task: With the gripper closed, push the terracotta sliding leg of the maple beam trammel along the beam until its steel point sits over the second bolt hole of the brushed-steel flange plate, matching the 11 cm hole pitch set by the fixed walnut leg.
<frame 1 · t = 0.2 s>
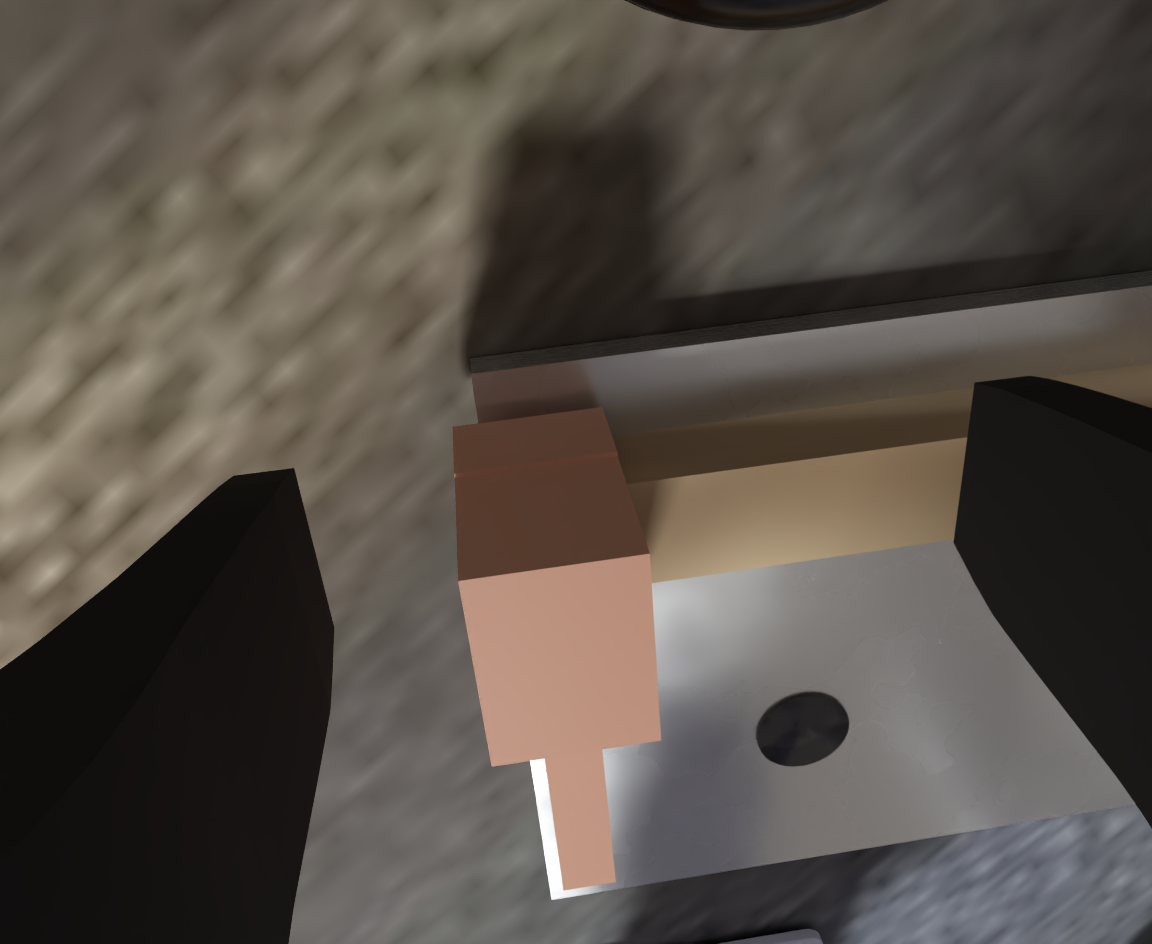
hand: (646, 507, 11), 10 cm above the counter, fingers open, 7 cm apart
flange plate: (912, 600, 25), on the counter
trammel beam: (930, 423, 22), resting on flange plate
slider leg: (566, 702, 20), point 4 cm above the counter, slide at 0.0 cm
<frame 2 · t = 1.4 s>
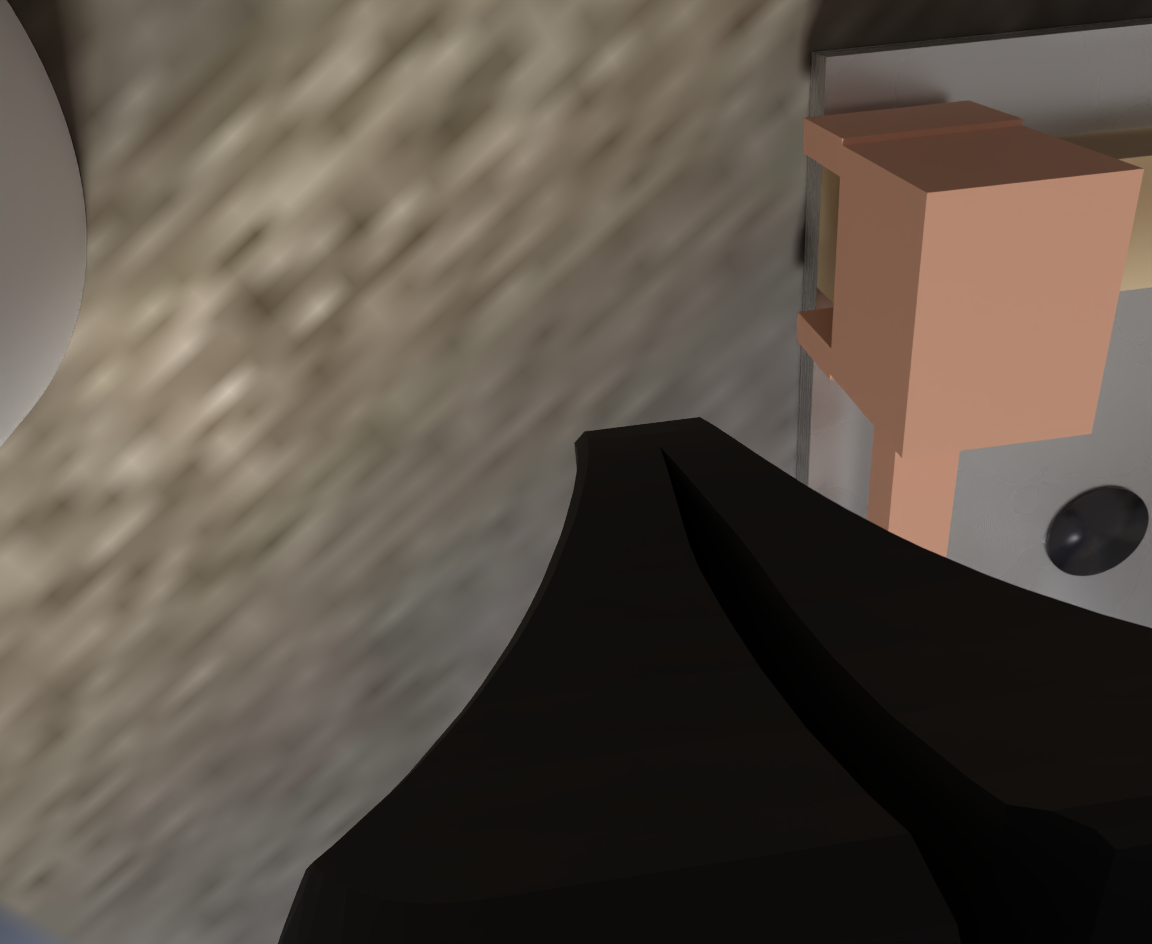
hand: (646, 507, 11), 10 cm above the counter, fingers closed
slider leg: (920, 437, 18), point 4 cm above the counter, slide at 0.0 cm
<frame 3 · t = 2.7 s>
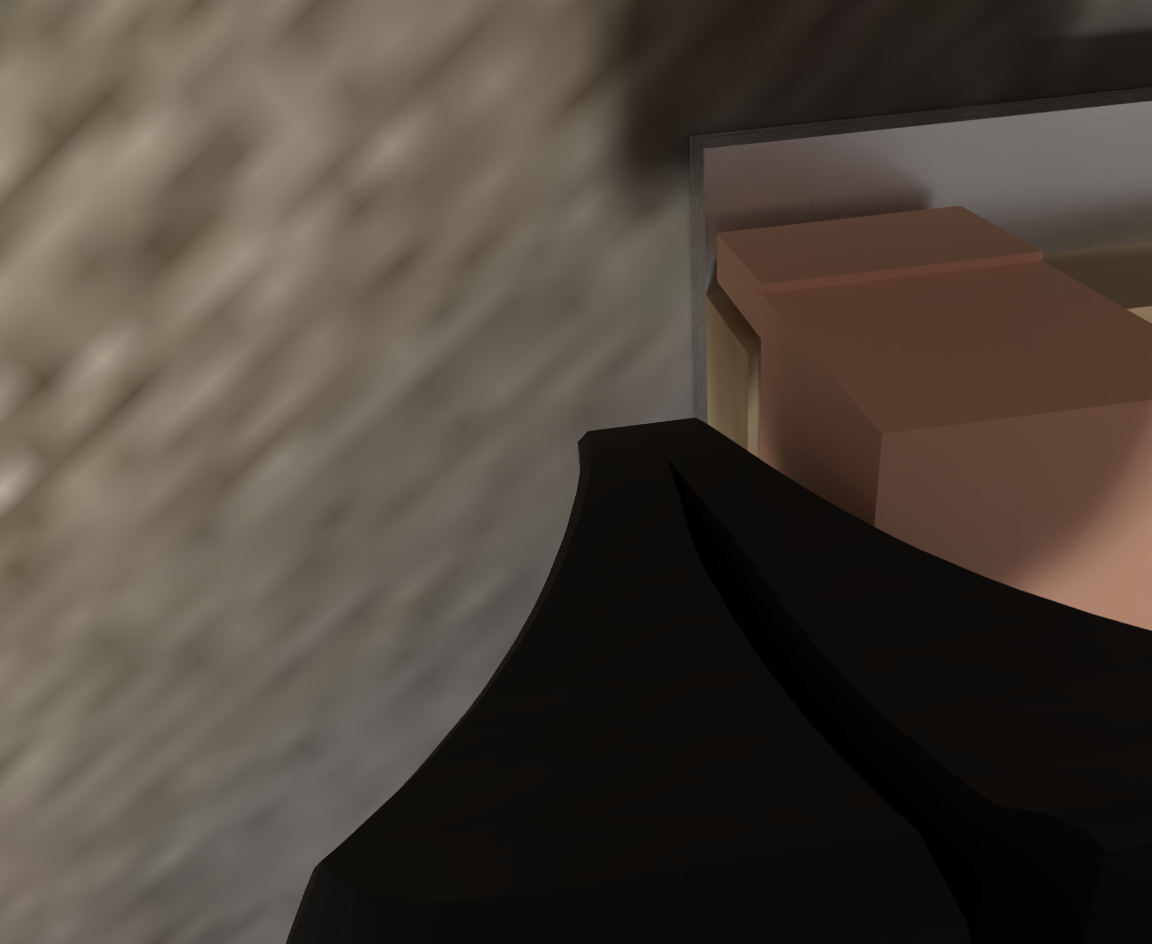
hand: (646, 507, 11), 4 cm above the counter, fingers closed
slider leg: (888, 694, 12), point 4 cm above the counter, slide at 0.6 cm, touching gripper
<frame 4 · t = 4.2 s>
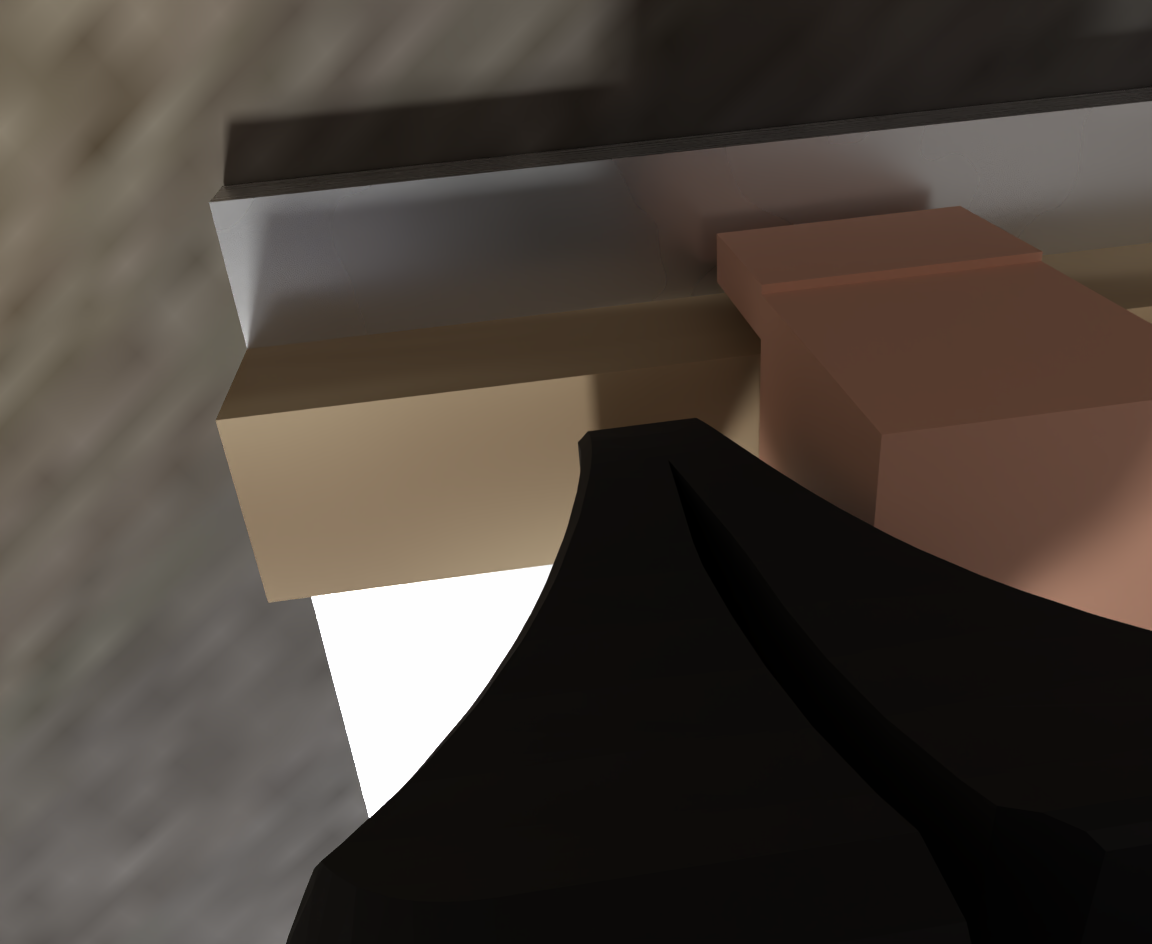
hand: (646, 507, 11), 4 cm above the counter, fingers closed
flange plate: (949, 603, 17), on the counter
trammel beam: (986, 322, 14), resting on flange plate
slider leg: (889, 694, 12), point 4 cm above the counter, slide at 6.3 cm, touching gripper
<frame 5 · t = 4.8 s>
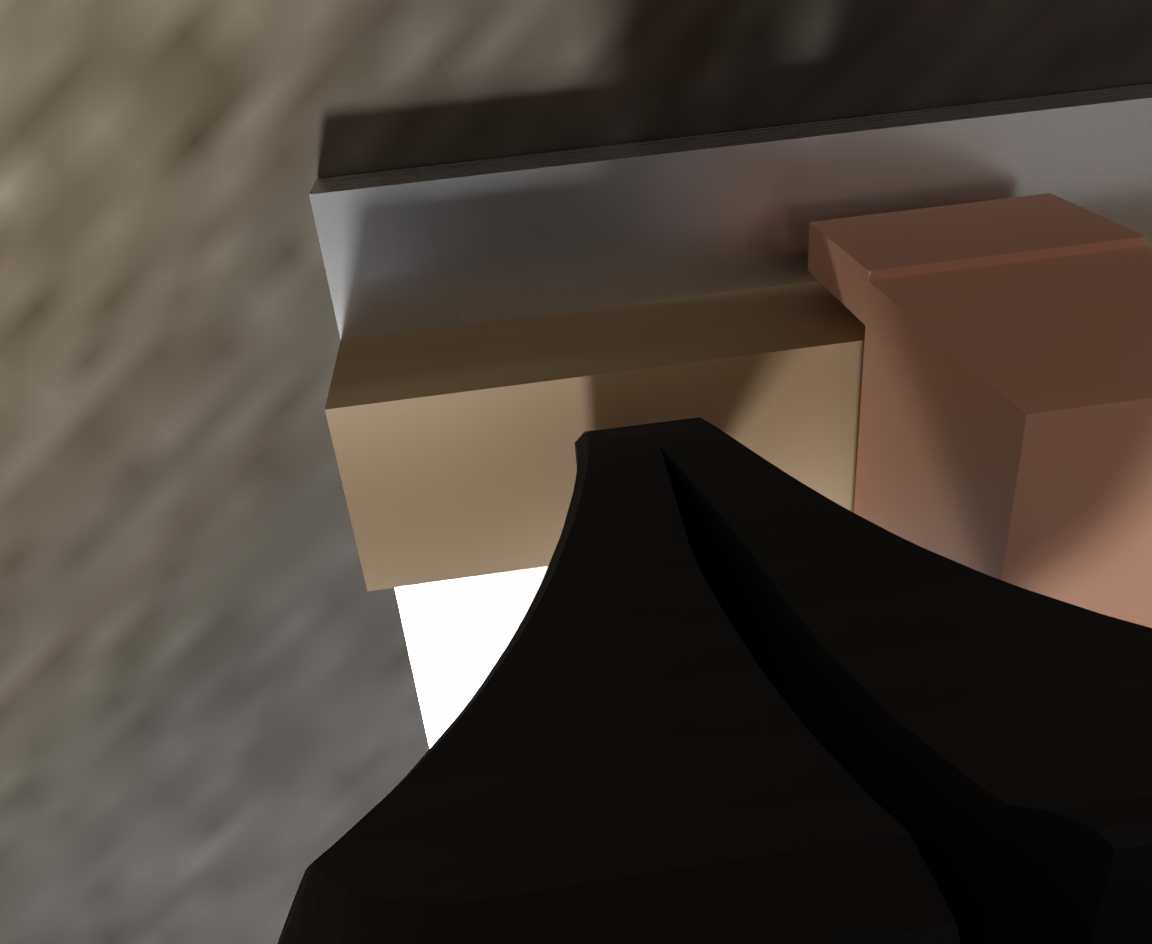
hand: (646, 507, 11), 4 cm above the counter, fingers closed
flange plate: (1017, 591, 17), on the counter
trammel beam: (1064, 310, 14), resting on flange plate
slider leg: (980, 680, 12), point 4 cm above the counter, slide at 6.3 cm
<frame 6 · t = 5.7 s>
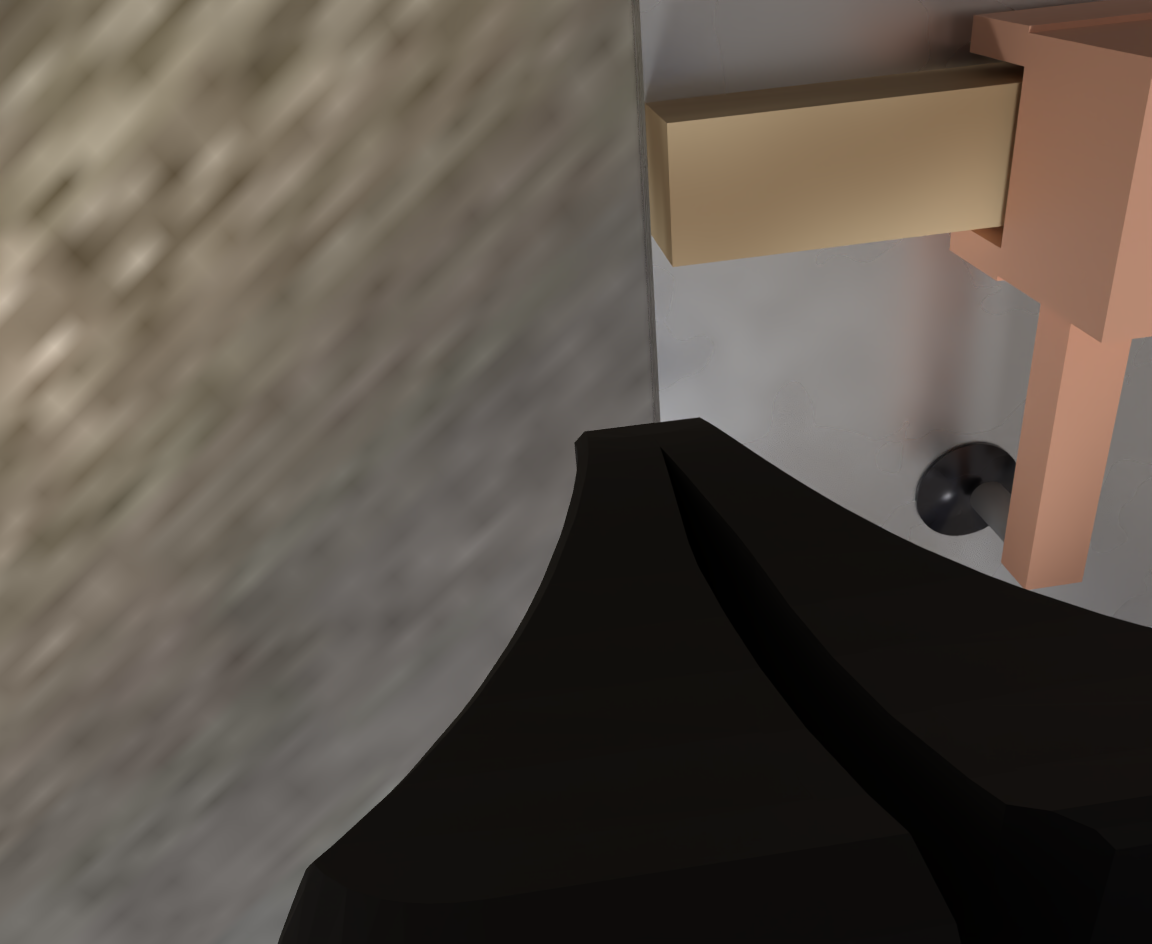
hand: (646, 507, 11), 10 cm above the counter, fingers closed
flange plate: (1094, 337, 22), on the counter
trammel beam: (1138, 102, 20), resting on flange plate
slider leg: (1087, 338, 18), point 4 cm above the counter, slide at 6.3 cm
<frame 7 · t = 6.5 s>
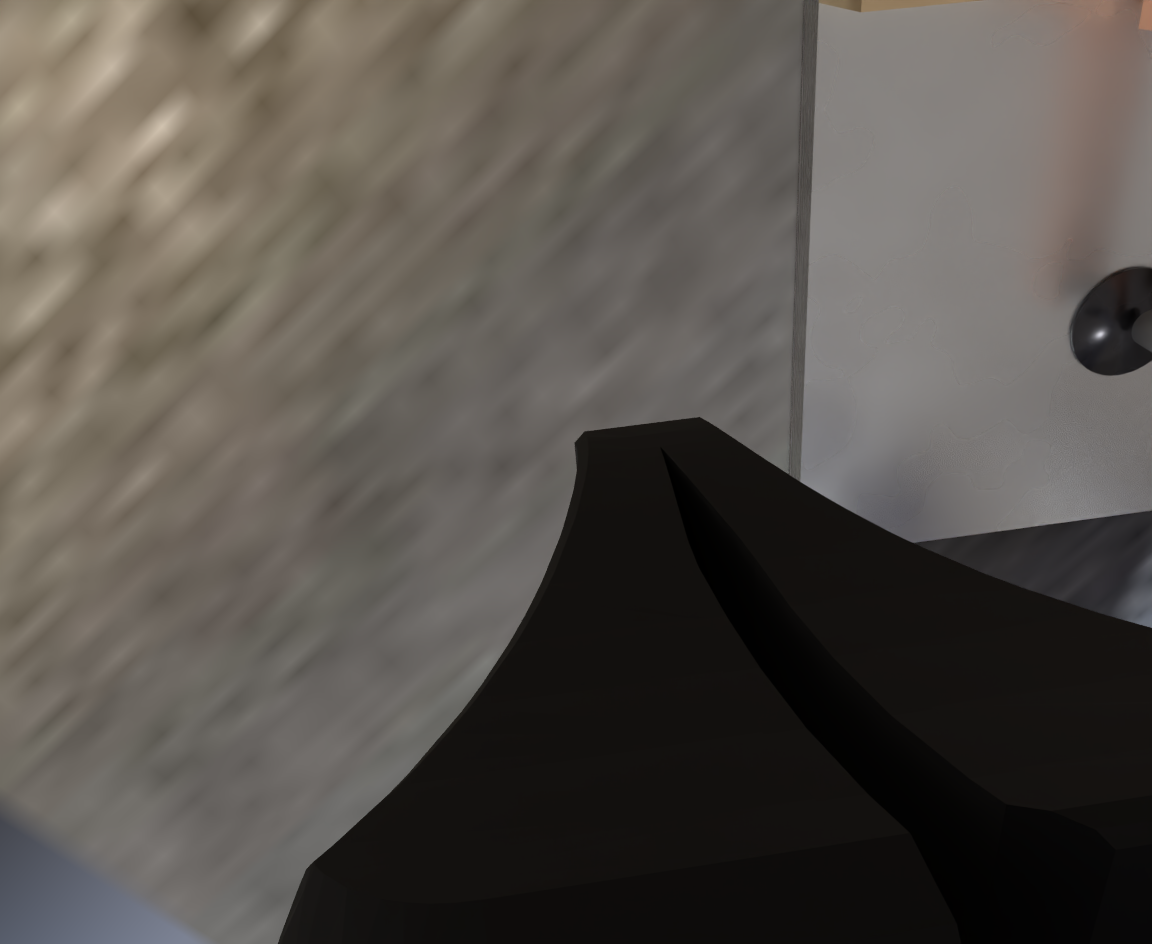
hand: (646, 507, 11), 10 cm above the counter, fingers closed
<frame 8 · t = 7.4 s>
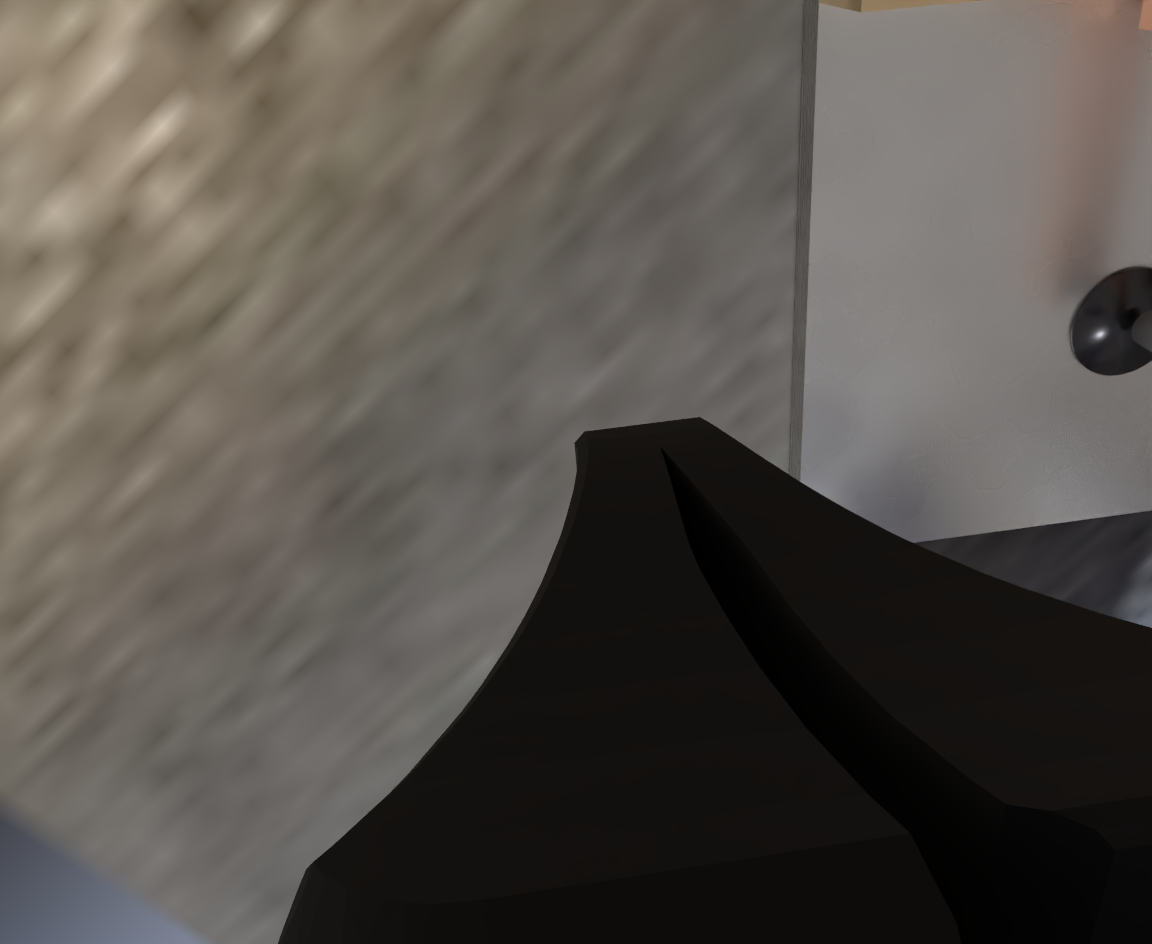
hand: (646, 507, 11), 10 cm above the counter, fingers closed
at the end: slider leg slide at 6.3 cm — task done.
